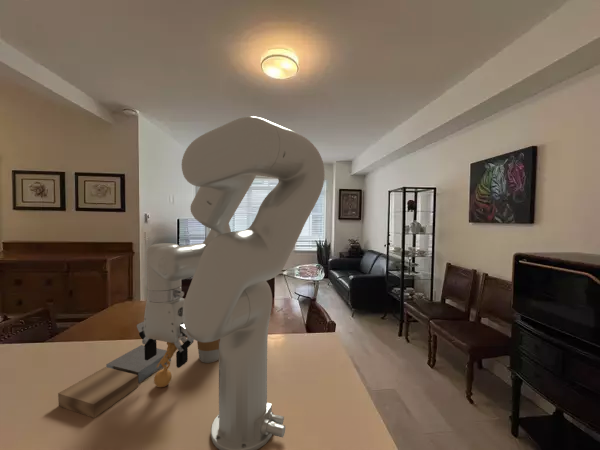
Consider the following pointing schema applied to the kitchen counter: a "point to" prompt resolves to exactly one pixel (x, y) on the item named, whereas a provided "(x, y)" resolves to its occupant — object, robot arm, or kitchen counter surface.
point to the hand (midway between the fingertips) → (166, 361)
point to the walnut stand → (98, 391)
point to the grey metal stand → (138, 363)
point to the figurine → (165, 367)
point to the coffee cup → (208, 351)
